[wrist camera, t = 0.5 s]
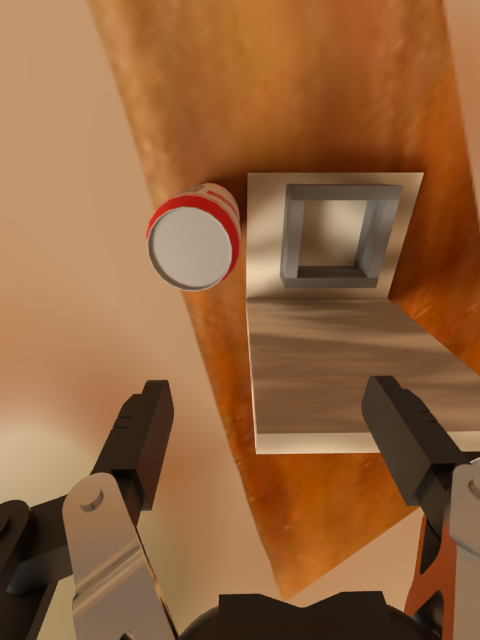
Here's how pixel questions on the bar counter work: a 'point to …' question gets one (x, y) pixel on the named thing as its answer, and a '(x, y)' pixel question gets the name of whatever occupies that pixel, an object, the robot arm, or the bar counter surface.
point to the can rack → (338, 314)
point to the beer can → (195, 237)
